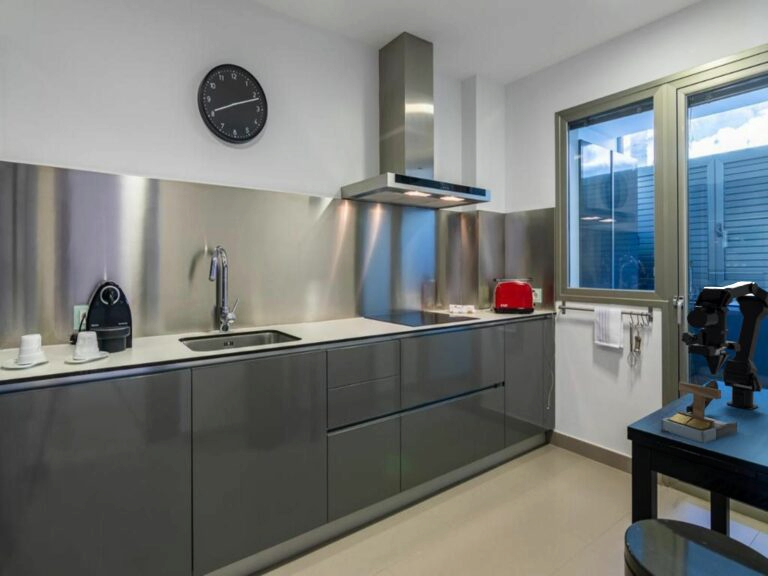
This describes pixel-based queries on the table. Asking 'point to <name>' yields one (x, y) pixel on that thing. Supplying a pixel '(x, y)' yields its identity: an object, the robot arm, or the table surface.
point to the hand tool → (707, 400)
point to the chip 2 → (698, 425)
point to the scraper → (699, 400)
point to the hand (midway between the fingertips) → (713, 374)
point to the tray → (688, 431)
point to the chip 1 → (680, 419)
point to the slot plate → (722, 427)
